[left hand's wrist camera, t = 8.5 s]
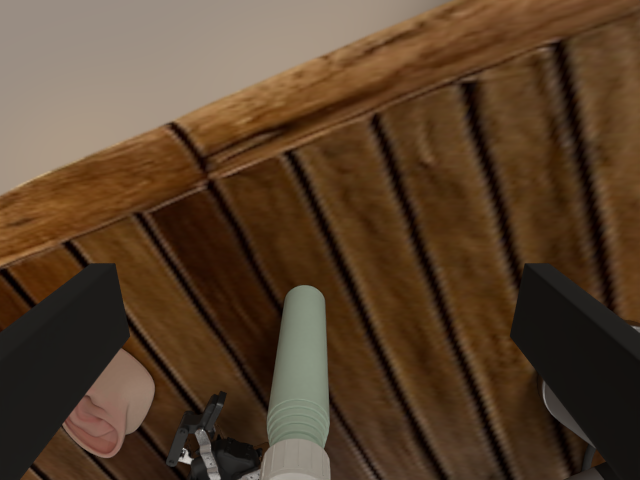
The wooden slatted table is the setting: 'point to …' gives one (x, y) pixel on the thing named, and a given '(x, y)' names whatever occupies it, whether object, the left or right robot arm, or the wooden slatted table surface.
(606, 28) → the wooden slatted table surface
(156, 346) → the wooden slatted table surface
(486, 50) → the wooden slatted table surface
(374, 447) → the wooden slatted table surface
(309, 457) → the cap
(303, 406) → the bottle
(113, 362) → the anatomical model
